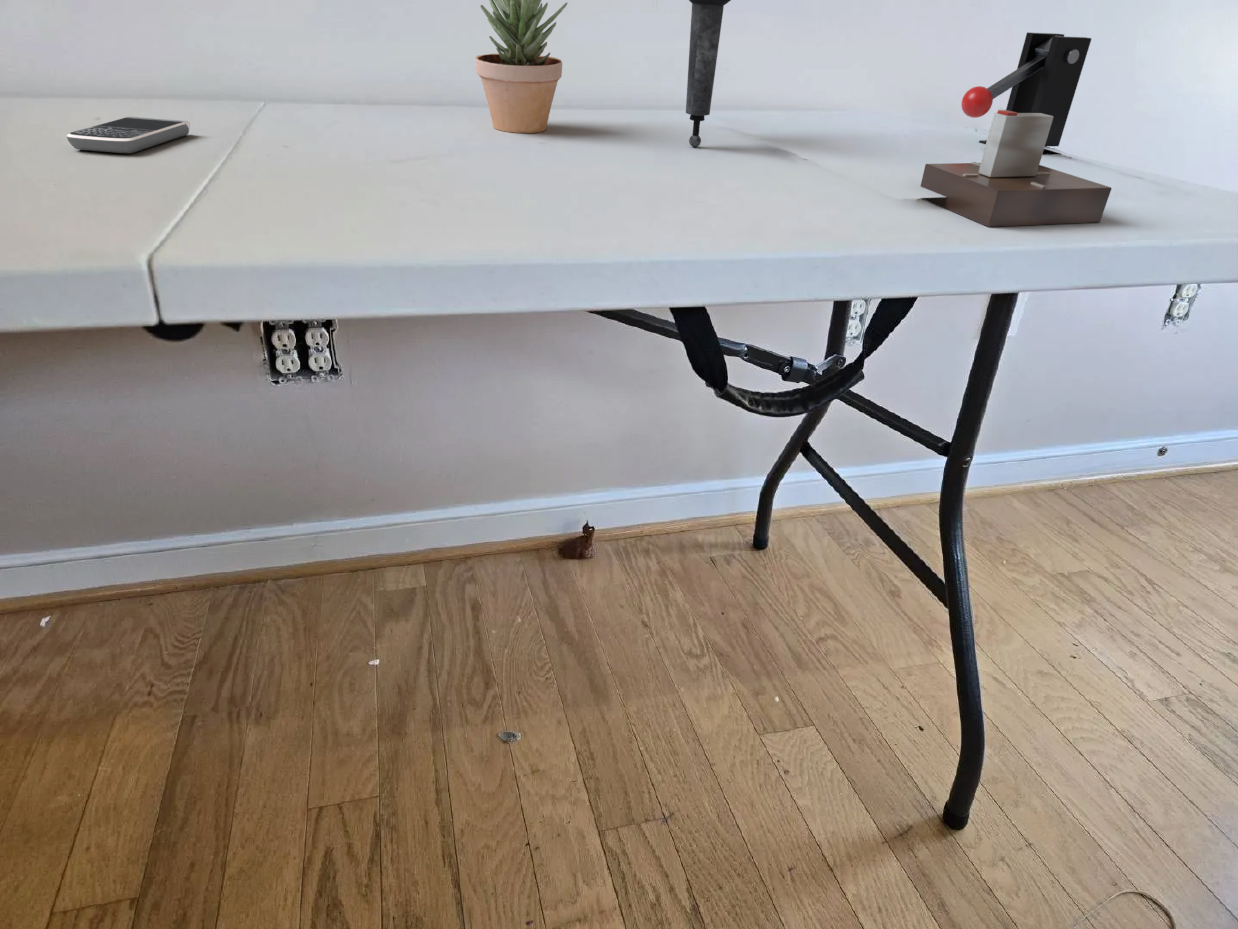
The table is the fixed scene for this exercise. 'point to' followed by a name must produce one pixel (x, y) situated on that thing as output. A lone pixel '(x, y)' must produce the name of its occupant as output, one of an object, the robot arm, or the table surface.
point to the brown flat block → (1015, 196)
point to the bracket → (1050, 81)
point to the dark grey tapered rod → (702, 60)
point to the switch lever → (1002, 84)
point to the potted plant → (519, 67)
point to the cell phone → (128, 134)
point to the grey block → (1015, 144)
